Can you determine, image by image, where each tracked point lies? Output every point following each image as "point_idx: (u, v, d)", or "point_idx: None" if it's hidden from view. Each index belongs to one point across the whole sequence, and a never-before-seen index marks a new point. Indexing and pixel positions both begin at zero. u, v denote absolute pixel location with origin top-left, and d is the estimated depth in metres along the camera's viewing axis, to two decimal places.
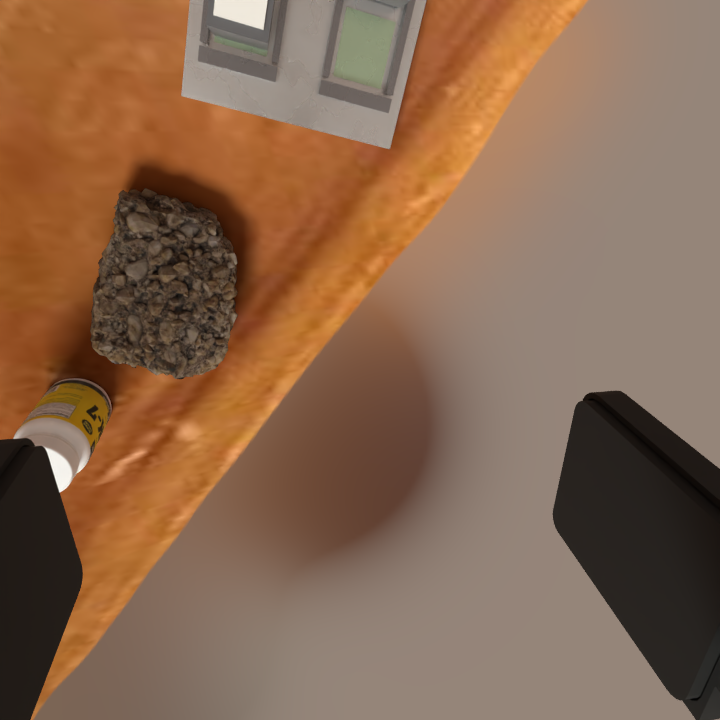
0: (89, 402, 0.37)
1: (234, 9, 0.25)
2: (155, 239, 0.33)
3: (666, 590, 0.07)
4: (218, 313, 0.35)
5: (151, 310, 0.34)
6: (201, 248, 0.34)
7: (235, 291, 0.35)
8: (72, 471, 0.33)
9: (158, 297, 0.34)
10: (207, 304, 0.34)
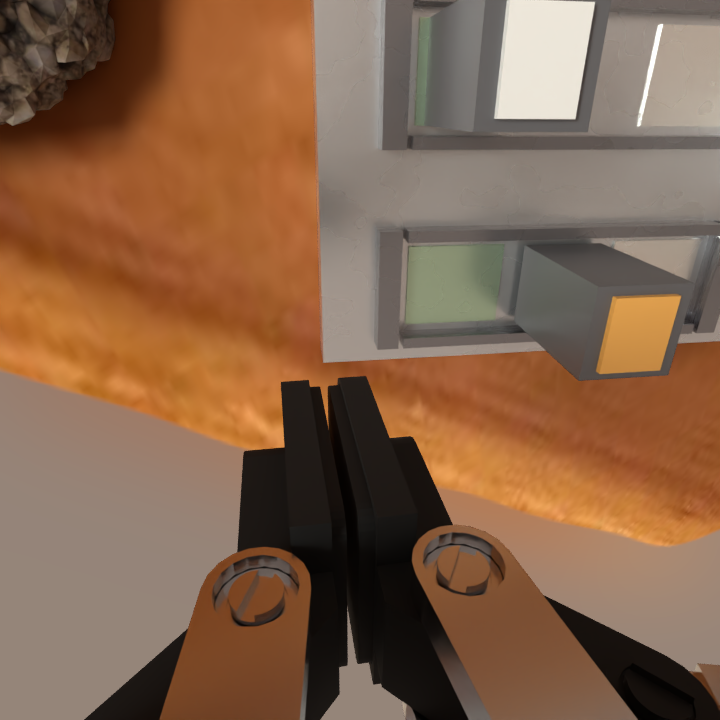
0: None
1: (524, 49, 0.12)
2: None
3: (350, 561, 0.08)
4: None
5: None
6: (8, 28, 0.14)
7: None
8: None
9: None
10: None
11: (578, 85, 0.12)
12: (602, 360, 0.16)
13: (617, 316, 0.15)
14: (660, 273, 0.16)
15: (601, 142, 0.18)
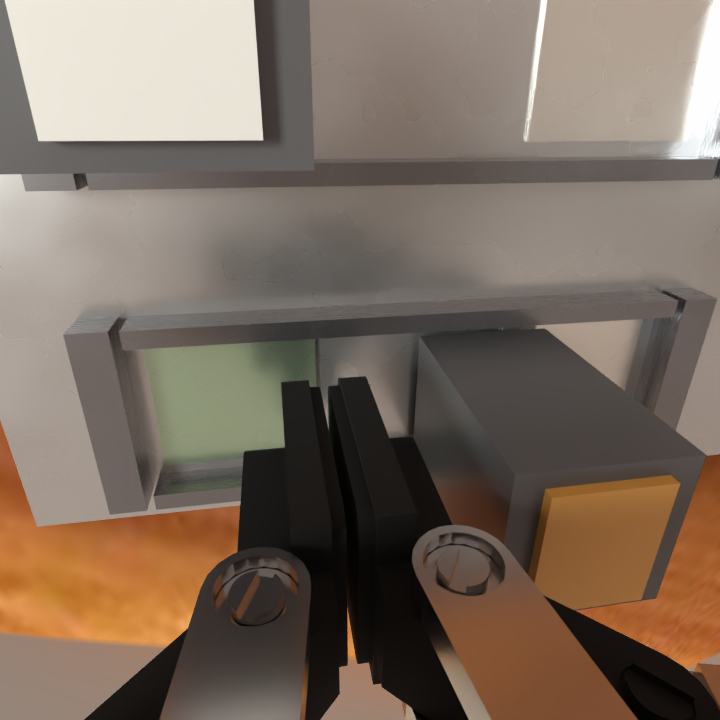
0: None
1: None
2: None
3: (350, 561, 0.08)
4: None
5: None
6: None
7: None
8: None
9: None
10: None
11: (248, 51, 0.05)
12: None
13: (556, 526, 0.08)
14: (638, 419, 0.09)
15: (453, 171, 0.10)
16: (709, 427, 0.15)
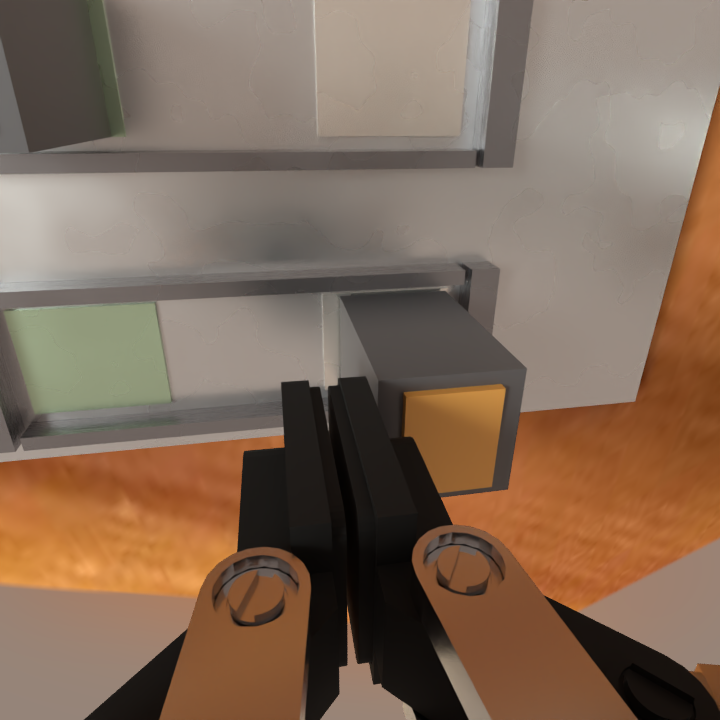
0: None
1: None
2: None
3: (350, 561, 0.08)
4: None
5: None
6: None
7: None
8: None
9: None
10: None
11: None
12: None
13: (412, 421, 0.10)
14: (488, 348, 0.11)
15: (245, 160, 0.12)
16: (528, 385, 0.17)
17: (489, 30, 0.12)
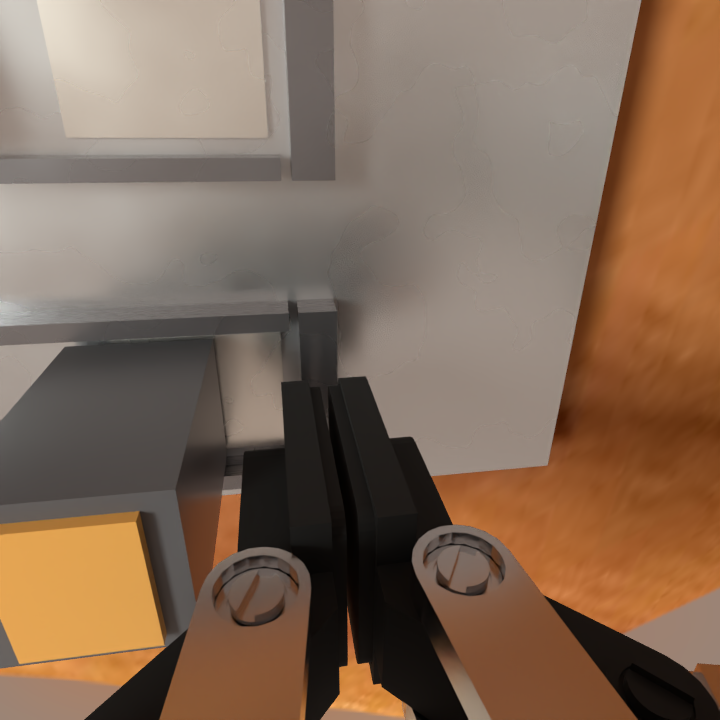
0: None
1: None
2: None
3: (350, 561, 0.08)
4: None
5: None
6: None
7: None
8: None
9: None
10: None
11: None
12: (12, 641, 0.07)
13: None
14: (160, 445, 0.08)
15: None
16: None
17: None
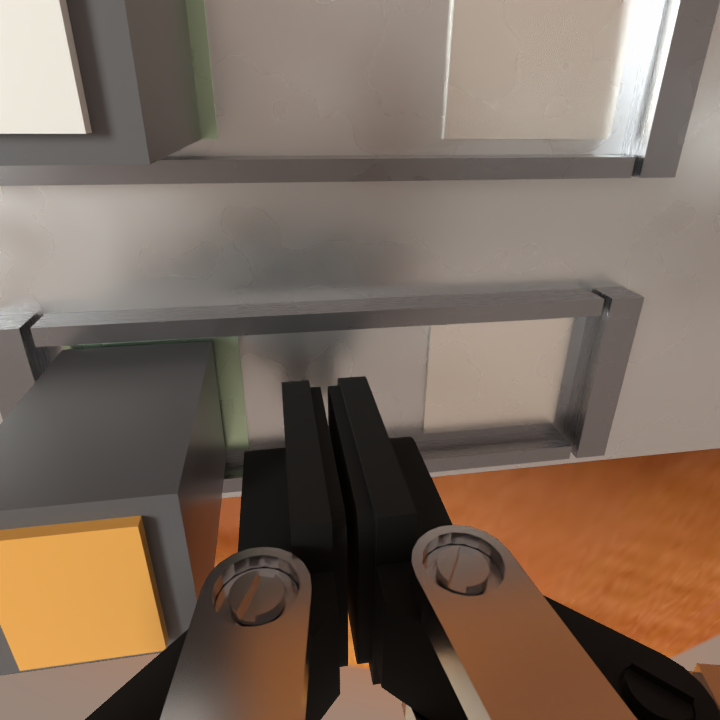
0: None
1: None
2: None
3: (350, 561, 0.08)
4: None
5: None
6: None
7: None
8: None
9: None
10: None
11: (59, 44, 0.05)
12: (13, 648, 0.07)
13: None
14: (160, 449, 0.08)
15: (363, 169, 0.10)
16: (650, 426, 0.15)
17: (664, 9, 0.10)
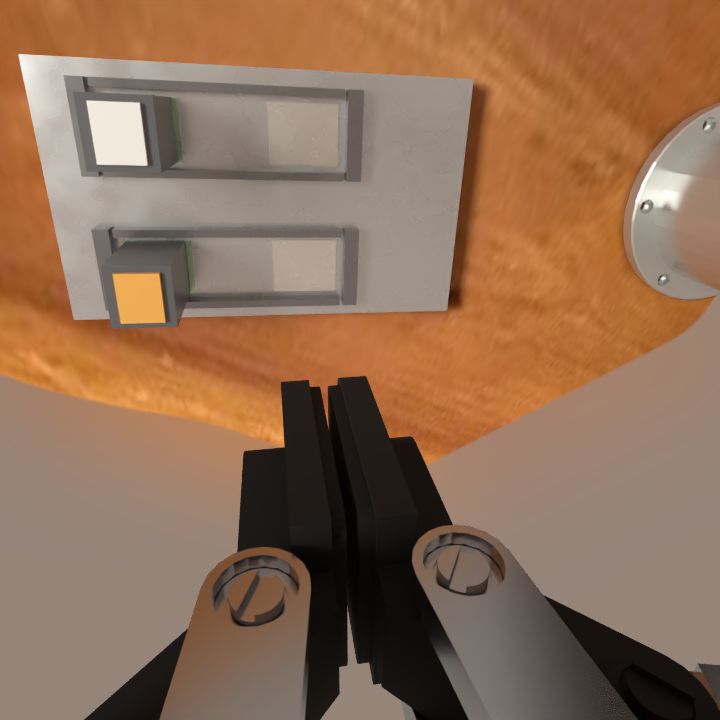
0: None
1: (102, 126, 0.21)
2: None
3: (350, 561, 0.08)
4: None
5: None
6: None
7: None
8: None
9: None
10: None
11: (143, 146, 0.22)
12: (119, 314, 0.24)
13: (117, 285, 0.24)
14: (165, 259, 0.25)
15: (236, 175, 0.27)
16: (384, 296, 0.32)
17: (346, 120, 0.27)
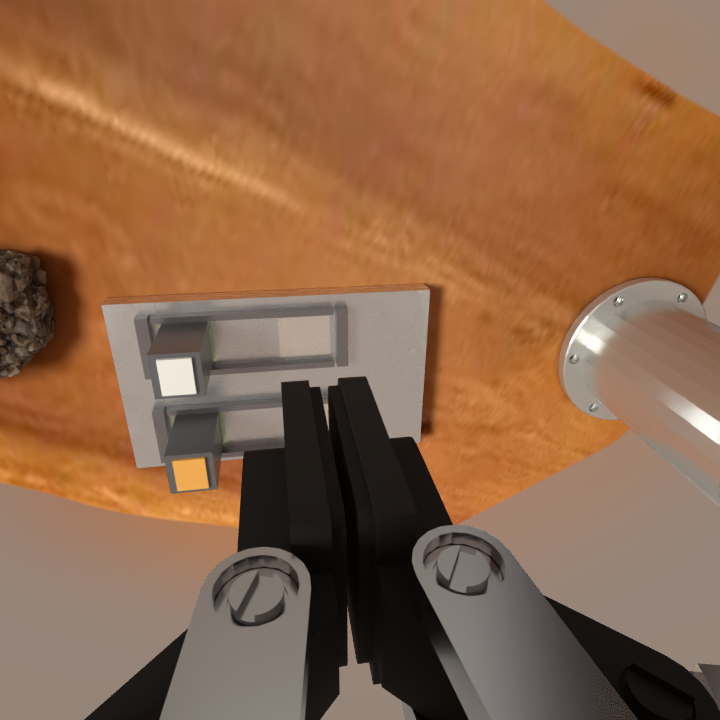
0: None
1: (166, 374, 0.31)
2: None
3: (350, 561, 0.08)
4: None
5: None
6: (7, 342, 0.33)
7: None
8: None
9: None
10: None
11: (193, 383, 0.32)
12: (176, 485, 0.34)
13: (175, 468, 0.34)
14: (207, 443, 0.35)
15: (255, 369, 0.37)
16: None
17: (336, 326, 0.37)
